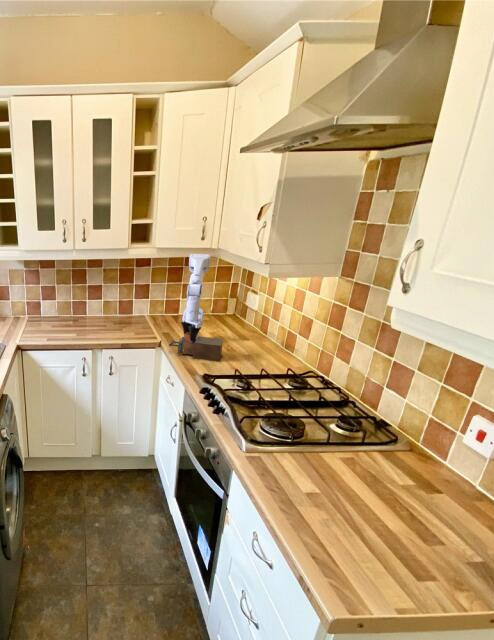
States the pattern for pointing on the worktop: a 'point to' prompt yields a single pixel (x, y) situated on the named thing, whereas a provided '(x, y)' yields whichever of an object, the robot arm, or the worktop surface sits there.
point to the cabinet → (208, 348)
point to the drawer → (184, 346)
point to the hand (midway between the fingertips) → (189, 338)
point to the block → (187, 338)
